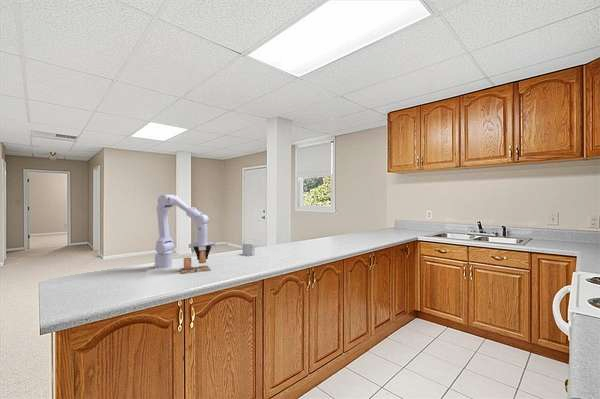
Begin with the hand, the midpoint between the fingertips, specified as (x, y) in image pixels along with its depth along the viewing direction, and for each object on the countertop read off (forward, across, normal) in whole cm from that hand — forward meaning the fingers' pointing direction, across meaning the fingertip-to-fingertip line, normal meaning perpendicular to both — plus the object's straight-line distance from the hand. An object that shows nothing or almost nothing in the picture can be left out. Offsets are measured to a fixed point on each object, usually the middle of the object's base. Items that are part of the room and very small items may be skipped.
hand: (202, 259), depth 163 cm
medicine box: (+7, +36, +30) cm, 47 cm away
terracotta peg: (+2, 0, 0) cm, 2 cm away
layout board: (+7, -4, 0) cm, 8 cm away
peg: (+6, -8, 0) cm, 10 cm away
